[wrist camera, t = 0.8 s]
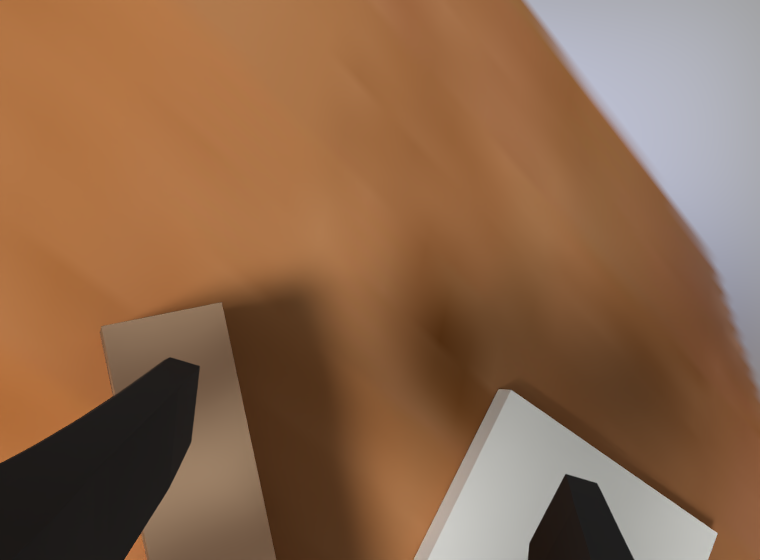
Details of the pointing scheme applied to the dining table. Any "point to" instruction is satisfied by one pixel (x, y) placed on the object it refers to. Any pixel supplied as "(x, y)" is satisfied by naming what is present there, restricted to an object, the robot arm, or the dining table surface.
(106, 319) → the dining table surface
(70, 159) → the dining table surface
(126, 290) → the dining table surface
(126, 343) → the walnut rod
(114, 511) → the robot arm
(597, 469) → the grey board
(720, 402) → the dining table surface
